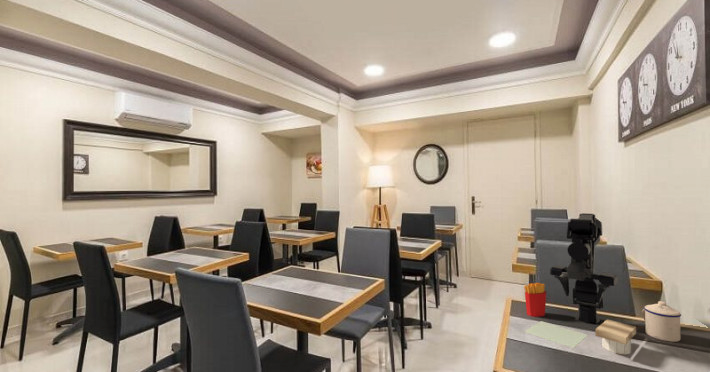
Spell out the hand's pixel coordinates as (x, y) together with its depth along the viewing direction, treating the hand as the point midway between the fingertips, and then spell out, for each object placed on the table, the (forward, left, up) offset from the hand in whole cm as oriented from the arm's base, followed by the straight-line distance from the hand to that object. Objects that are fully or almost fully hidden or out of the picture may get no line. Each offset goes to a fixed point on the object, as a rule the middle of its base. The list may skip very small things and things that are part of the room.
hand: (582, 299), depth 112 cm
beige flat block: (+6, +11, -7) cm, 14 cm away
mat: (+9, -5, -12) cm, 16 cm away
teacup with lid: (-19, +17, -12) cm, 28 cm away
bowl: (+6, +11, -12) cm, 17 cm away
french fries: (-3, -17, -12) cm, 21 cm away
